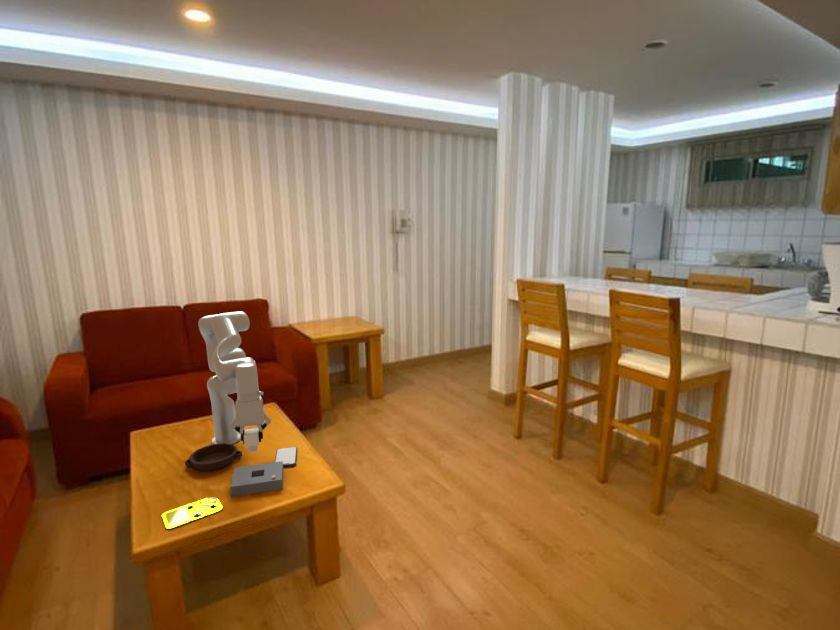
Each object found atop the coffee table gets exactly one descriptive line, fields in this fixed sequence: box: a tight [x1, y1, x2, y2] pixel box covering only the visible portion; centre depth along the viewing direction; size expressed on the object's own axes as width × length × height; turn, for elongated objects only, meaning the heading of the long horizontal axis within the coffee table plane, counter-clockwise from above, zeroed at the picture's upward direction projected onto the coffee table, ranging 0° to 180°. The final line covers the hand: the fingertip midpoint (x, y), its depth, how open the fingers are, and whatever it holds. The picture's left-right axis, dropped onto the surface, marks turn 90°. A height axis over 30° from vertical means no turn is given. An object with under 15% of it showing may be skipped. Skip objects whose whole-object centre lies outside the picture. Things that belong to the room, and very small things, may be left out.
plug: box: [243, 427, 260, 453], centre depth 173 cm, size 6×5×8 cm
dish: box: [184, 443, 243, 472], centre depth 192 cm, size 18×22×5 cm
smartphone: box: [274, 446, 298, 469], centre depth 196 cm, size 9×2×16 cm
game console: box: [161, 496, 224, 531], centre depth 159 cm, size 18×11×2 cm, turn 129°
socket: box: [230, 461, 284, 498], centre depth 177 cm, size 14×18×5 cm
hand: (252, 441), depth 173 cm, fingers closed on plug, 5 cm apart
